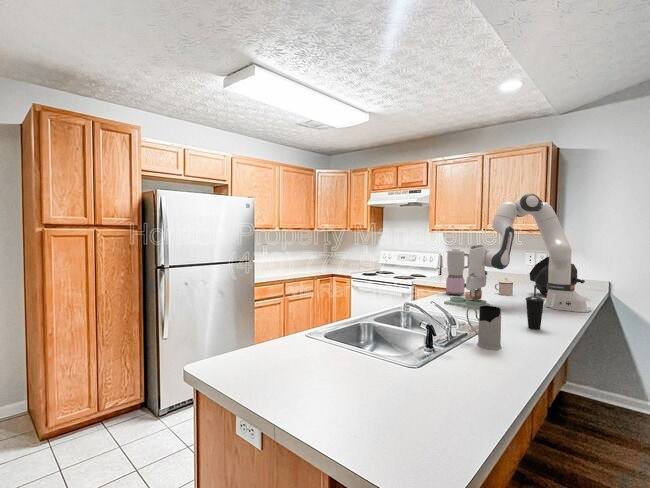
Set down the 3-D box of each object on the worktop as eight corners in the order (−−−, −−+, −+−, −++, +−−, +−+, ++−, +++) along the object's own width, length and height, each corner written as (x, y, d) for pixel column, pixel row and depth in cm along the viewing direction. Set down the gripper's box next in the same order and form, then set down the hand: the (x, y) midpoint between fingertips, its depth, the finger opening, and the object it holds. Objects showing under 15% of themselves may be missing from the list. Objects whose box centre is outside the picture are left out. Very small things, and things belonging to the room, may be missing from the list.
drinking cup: (526, 325, 169) (527, 283, 168) (545, 327, 164) (546, 285, 164) (523, 328, 163) (524, 285, 163) (542, 331, 158) (543, 287, 158)
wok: (545, 293, 229) (521, 267, 247) (553, 310, 246) (531, 285, 264) (587, 269, 222) (559, 244, 240) (592, 289, 239) (566, 264, 257)
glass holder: (494, 351, 132) (495, 311, 131) (460, 341, 143) (460, 304, 143) (506, 347, 137) (507, 308, 137) (472, 337, 149) (473, 302, 148)
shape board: (490, 306, 212) (490, 300, 212) (480, 309, 202) (480, 303, 202) (454, 300, 228) (454, 295, 227) (444, 303, 218) (444, 298, 218)
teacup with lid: (514, 294, 251) (515, 278, 250) (510, 296, 244) (510, 279, 244) (496, 292, 259) (497, 276, 259) (492, 294, 253) (492, 277, 252)
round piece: (474, 300, 231) (474, 292, 231) (471, 301, 227) (471, 293, 227) (467, 298, 235) (467, 291, 234) (463, 299, 231) (463, 292, 231)
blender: (445, 295, 246) (446, 249, 245) (445, 292, 258) (446, 248, 257) (470, 296, 241) (471, 250, 240) (469, 294, 253) (469, 249, 252)
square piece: (481, 298, 211) (481, 290, 211) (477, 299, 208) (478, 291, 207) (473, 297, 215) (473, 289, 214) (469, 298, 211) (469, 290, 211)
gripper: (474, 274, 201) (473, 298, 202) (488, 271, 215) (487, 294, 216) (463, 273, 205) (462, 297, 206) (478, 270, 220) (477, 293, 220)
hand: (475, 295), depth 211 cm, fingers closed on square piece, 5 cm apart
